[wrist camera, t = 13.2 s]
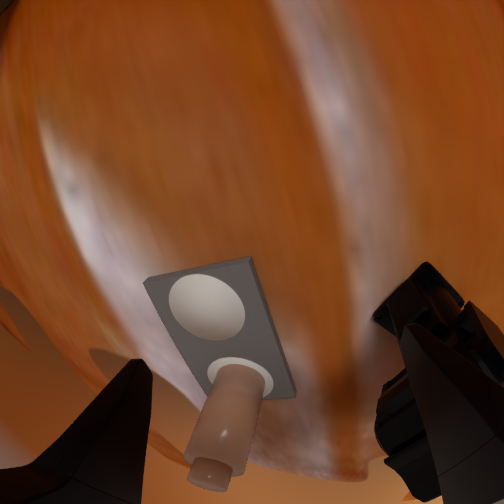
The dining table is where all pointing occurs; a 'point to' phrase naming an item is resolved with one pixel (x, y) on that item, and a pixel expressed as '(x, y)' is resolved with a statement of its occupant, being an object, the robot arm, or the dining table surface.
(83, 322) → the dining table surface
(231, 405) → the light brown tall cylinder
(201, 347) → the slate board
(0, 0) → the labelled canister
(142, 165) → the dining table surface
